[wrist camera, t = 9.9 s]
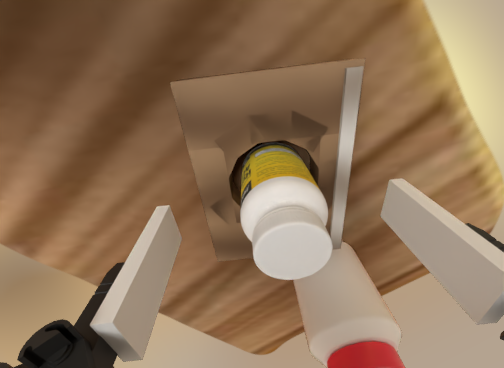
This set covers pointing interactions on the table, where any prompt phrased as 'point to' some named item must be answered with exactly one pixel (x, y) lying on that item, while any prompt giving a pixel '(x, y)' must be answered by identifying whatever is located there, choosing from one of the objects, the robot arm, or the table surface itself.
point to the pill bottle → (347, 316)
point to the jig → (270, 136)
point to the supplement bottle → (283, 213)
